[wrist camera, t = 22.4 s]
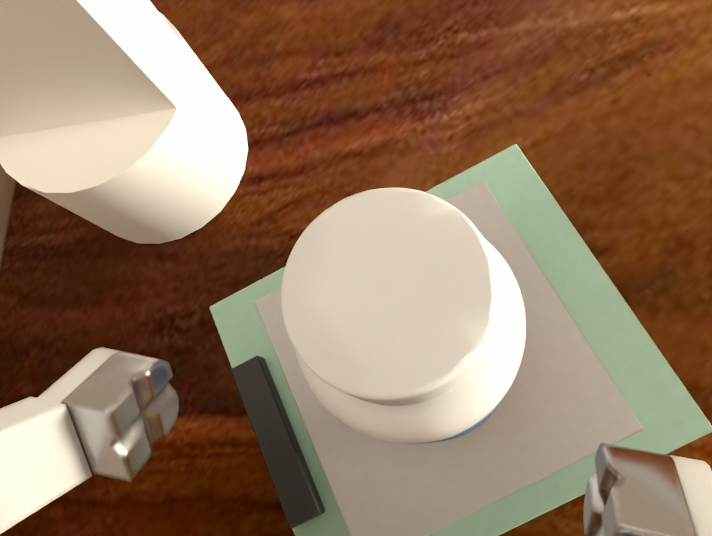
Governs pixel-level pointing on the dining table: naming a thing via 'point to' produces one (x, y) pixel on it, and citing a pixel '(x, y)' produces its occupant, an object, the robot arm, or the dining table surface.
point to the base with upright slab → (115, 117)
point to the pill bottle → (403, 316)
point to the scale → (511, 417)
